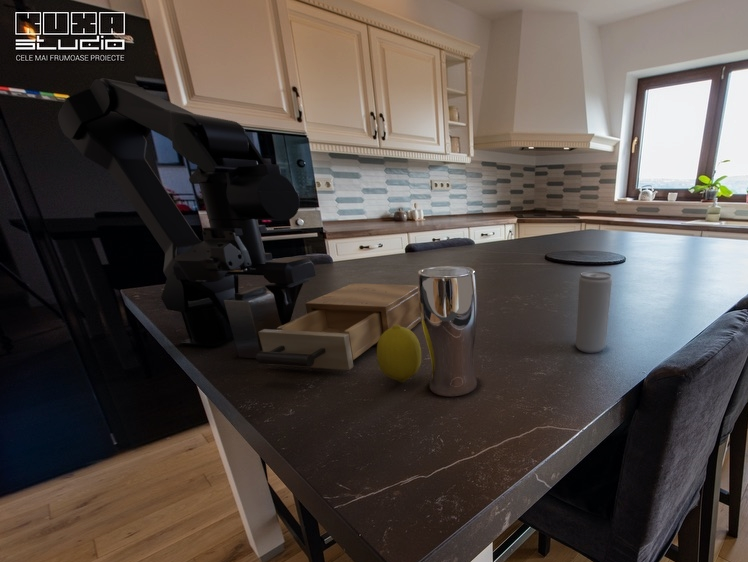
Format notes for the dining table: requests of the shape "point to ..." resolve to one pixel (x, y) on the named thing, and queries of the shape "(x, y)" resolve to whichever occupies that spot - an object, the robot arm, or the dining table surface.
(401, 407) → the dining table surface
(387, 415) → the dining table surface
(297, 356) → the drawer
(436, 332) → the beer glass
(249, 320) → the tall upright grey box
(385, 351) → the lemon
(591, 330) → the beverage can
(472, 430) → the dining table surface
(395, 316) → the cabinet
